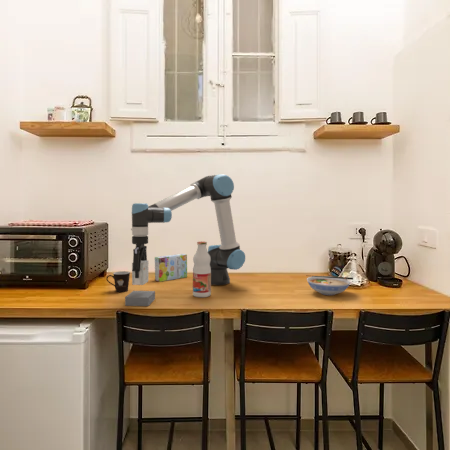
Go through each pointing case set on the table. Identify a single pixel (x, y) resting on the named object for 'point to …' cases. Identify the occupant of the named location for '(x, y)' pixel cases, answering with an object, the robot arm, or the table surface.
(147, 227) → the robot arm
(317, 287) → the ramen bowl
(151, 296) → the stand
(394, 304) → the table surface
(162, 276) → the snack box
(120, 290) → the coffee mug
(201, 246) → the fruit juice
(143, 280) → the small box
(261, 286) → the table surface
